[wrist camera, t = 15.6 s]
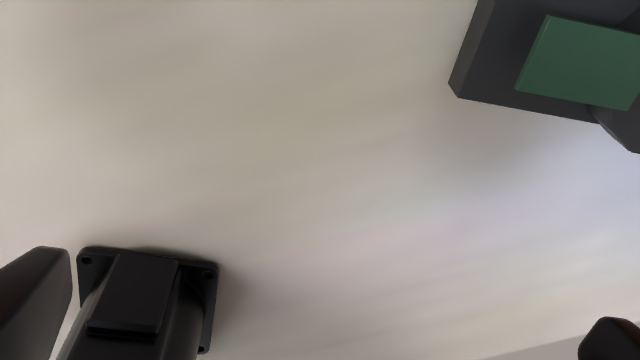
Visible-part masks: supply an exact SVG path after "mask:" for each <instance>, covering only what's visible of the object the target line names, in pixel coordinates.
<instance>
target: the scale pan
mask: <svg viewBox="0 0 640 360" xmlns="http://www.w3.org/2000/svg"><path fill="white" fill-rule="evenodd" d="M514 87H515V88H516V90H518V91H523V92H528V93H534V94H539V95H544V96H549V97H554V98H560V99H565V100H570V101H575V102H580V103H586V104H591V105H596V106H601V107H606V108H612V109H617V110H622V111H628V110H629V108H630V106H631V105H632V103H633V102H634V100H635V98H636V97H637V95H638V93H639V92H640V33H635V32H631V31H626V30H622V29H617V28H612V27H608V26H603V25H599V24H594V23H590V22H585V21H580V20H576V19H571V18H567V17H562V16H558V15H553V14H547V15H546V17H545V19H544V21H543V24H542V26H541V28H540V30H539V32H538V35H537V37H536V39H535V41H534V44H533V46H532V48H531V50H530V52H529V55H528V57H527V59H526V61H525V64H524V66H523V68H522V70H521V72H520V75H519V77H518V79H517V81H516V84H515V86H514Z"/></svg>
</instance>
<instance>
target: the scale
mask: <svg viewBox="0 0 640 360" xmlns="http://www.w3.org/2000/svg"><path fill="white" fill-rule="evenodd" d="M547 14H553V15H558V16H562V17H567V18H571V19H576V20H580V21H585V22H590V23H594V24H599V25H603V26H608V27H612V28H617V29H622V30H626V31H631V32H635V33H640V0H479V1H478V4H477V6H476V9H475V12H474V14H473V17H472V20H471V23H470V25H469V28H468V31H467V33H466V36H465V39H464V41H463V44H462V47H461V50H460V52H459V55H458V58H457V60H456V63H455V66H454V68H453V71H452V74H451V77H450V79H449V82H448V84H449V86H450V87H451V89H452V90H453V92H454V93H455V95H456V96H457V97H458V98H462V99H467V100H473V101H478V102H483V103H489V104H494V105H499V106H505V107H510V108H516V109H521V110H526V111H532V112H537V113H542V114H548V115H553V116H558V117H564V118H569V119H574V120H580V121H585V122H590V123H596V124H600V125H601V126H602V127H603V128H604V129H605V130H606V131H607V132H608V133H609V134H610V135H611V136H612V137H613V138H614V139H616V140H617V141H618V142H619V143H620V144H621V145H623V146H624V147H625V148H626V149H627V150H628V151H631V152H632V153H638V154H640V92H639V93H638V95H637V97H636V98H635V100H634V102H633V103H632V105H631V106H630V108H629V110H628V111H622V110H617V109H612V108H606V107H601V106H596V105H591V104H586V103H580V102H575V101H570V100H565V99H560V98H554V97H549V96H544V95H539V94H534V93H528V92H523V91H518V90H516V88H515V87H514V86H515V84H516V81H517V79H518V77H519V75H520V72H521V70H522V68H523V66H524V64H525V61H526V59H527V57H528V55H529V52H530V50H531V48H532V46H533V44H534V41H535V39H536V37H537V35H538V32H539V30H540V28H541V26H542V24H543V21H544V19H545V17H546V15H547Z"/></svg>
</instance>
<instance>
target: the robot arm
mask: <svg viewBox="0 0 640 360" xmlns="http://www.w3.org/2000/svg"><path fill="white" fill-rule="evenodd" d="M87 257H90V258H91V259H89V258H87ZM76 262H77V273H78V284H79V296H80V307H81V310H80V312H79V314H78V316H77V318H76V320H75V322H74V324H73V326H72V328H71V330H70V332H69V334H68V336H67V338H66V340H65V342H64V344H63V346H62V348H61V350H60V352H59V354H58V356H57V358H56V360H196V357H197V354H198V355H203V354H206V353H207V352H208V351H209V347H210V341H211V333H212V325H213V317H214V309H215V302H216V294H217V286H218V278H219V267H218V266H217V265H216V264H214V263H211V262H204V261H197V260H189V259H181V258H173V257H165V256H157V255H149V254H141V253H133V252H125V251H117V250H110V249H102V248H94V247H85V248H82V249H81V250H80V252H79V254H78V255H77V258H76ZM206 272H211V273H210V274H208V273H206ZM72 290H73V285H72V275H71V265H70V256H69V253H68V251H67V250H65V249H63V248H55V247H47V246H38V247H35V248H33V249H32V250H30V251H28V252H27V253H25V254H23V255H22V256H20V257H19V258H17V259H15V260H14V261H12V262H10V263H9V264H7V265H6V266H4V267H2V268H1V269H0V360H49V358H50V355H51V352H52V350H53V347H54V344H55V342H56V339H57V336H58V334H59V331H60V328H61V325H62V323H63V320H64V317H65V315H66V312H67V309H68V307H69V304H70V301H71V297H72ZM578 360H640V328H639V327H637V326H636V325H635V324H633V323H632V322H630V321H629V320H627V319H623V318H616V317H607V316H606V317H602V318H600V319H599V320H598V321H597V322H596V323H595V325H594V326H593V327H592V329H591V330H590V331H589V333H588V334H587V335H586V337H585V338H584V339H583V340H582V342H581V343H580V345H579V348H578Z"/></svg>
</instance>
